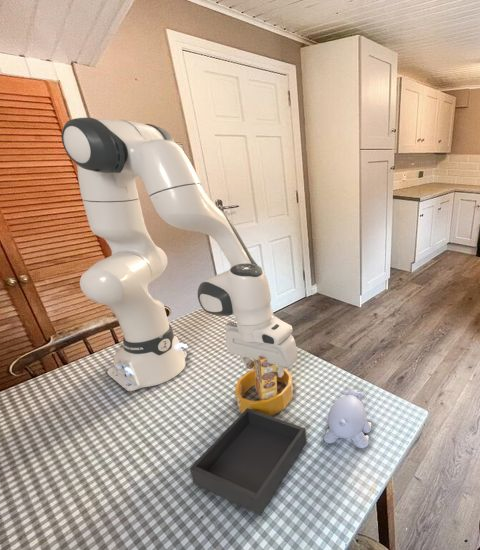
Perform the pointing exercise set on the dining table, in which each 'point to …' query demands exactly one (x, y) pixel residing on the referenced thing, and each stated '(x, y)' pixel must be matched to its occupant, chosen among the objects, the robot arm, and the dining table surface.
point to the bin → (250, 460)
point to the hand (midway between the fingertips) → (264, 371)
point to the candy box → (265, 378)
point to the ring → (264, 406)
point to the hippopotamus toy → (348, 419)
